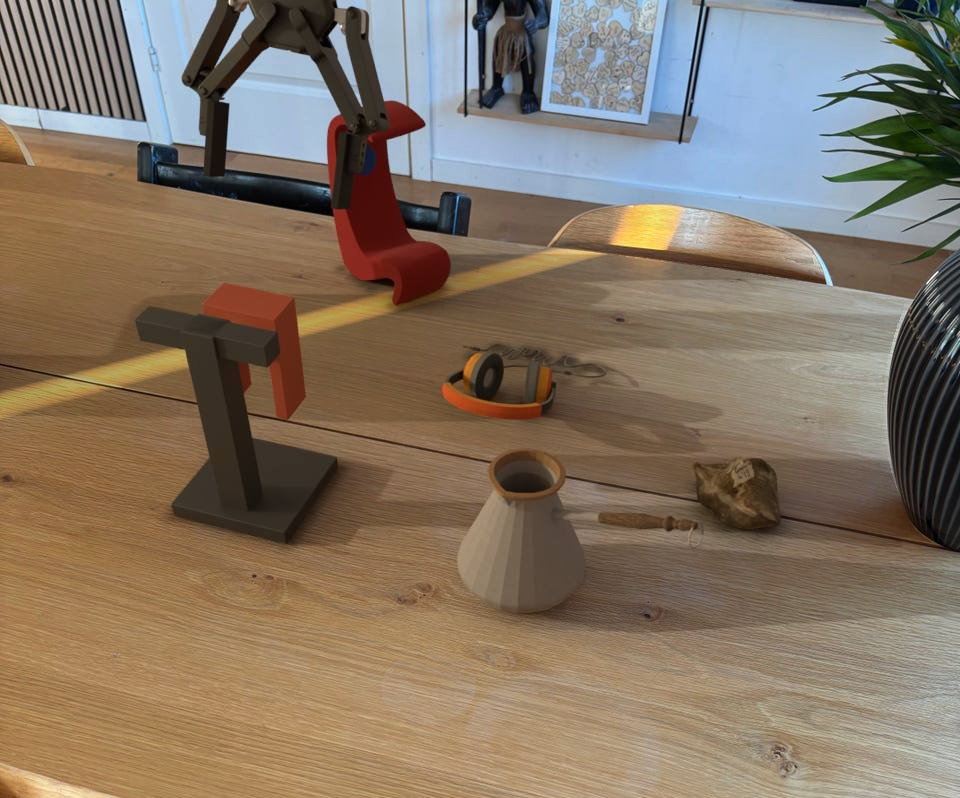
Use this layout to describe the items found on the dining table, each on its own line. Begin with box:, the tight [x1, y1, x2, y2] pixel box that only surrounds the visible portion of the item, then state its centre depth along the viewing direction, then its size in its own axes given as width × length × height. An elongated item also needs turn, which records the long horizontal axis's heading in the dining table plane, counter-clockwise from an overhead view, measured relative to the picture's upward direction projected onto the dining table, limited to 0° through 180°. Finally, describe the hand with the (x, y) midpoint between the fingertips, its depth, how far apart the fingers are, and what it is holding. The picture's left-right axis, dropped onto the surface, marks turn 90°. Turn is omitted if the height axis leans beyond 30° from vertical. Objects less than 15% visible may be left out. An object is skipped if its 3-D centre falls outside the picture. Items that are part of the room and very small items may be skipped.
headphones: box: [441, 343, 607, 421], centre depth 110 cm, size 17×5×20 cm
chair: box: [326, 100, 452, 306], centre depth 121 cm, size 15×7×20 cm, turn 39°
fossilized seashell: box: [692, 456, 782, 530], centre depth 98 cm, size 8×7×10 cm
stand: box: [134, 305, 339, 545], centre depth 93 cm, size 12×12×20 cm
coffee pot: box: [456, 447, 705, 614], centre depth 85 cm, size 21×12×15 cm, turn 55°
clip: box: [201, 282, 307, 421], centre depth 93 cm, size 7×4×10 cm, turn 71°
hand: (276, 192), depth 98 cm, fingers open, 13 cm apart
